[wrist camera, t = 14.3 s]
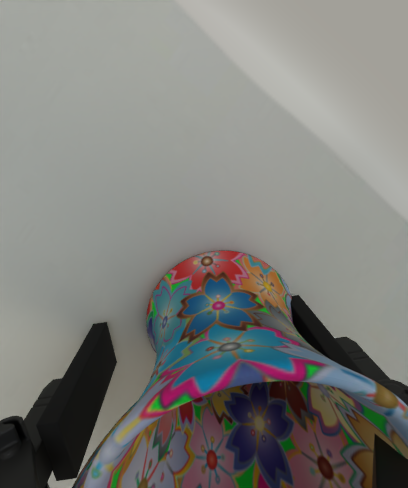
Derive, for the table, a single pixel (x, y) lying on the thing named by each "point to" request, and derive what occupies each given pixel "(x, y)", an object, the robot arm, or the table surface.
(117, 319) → the table surface
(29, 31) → the table surface
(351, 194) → the table surface
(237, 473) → the floral cup
